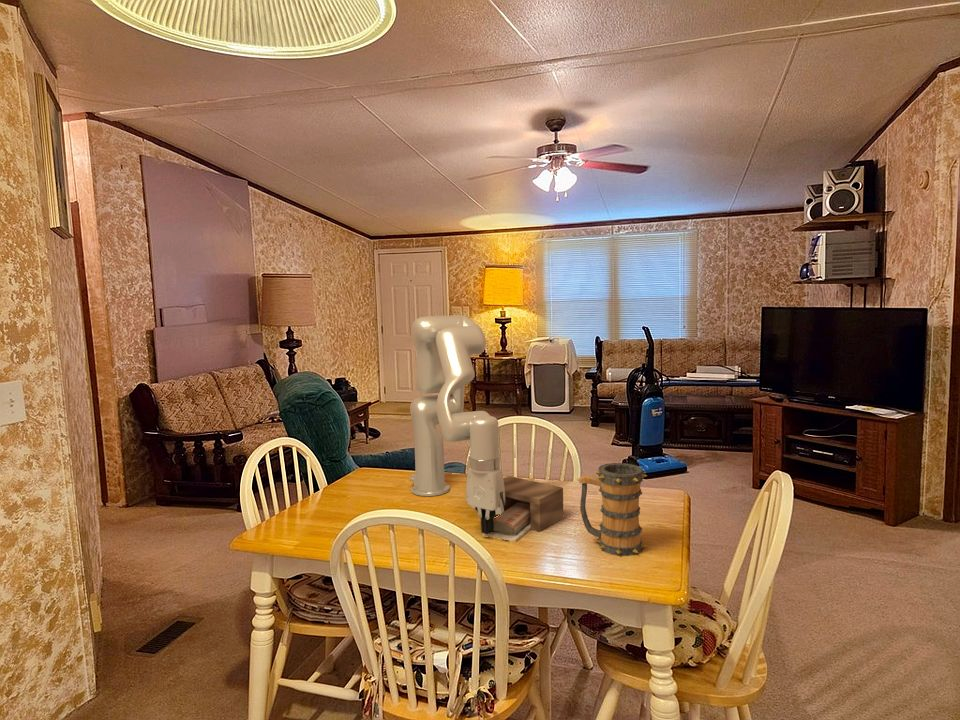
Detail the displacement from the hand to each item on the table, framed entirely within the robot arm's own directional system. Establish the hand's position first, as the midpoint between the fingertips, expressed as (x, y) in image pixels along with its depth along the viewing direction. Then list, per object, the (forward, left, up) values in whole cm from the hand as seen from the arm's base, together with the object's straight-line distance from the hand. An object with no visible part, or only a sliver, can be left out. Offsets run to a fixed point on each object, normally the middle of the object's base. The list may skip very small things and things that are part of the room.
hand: (487, 531), depth 154 cm
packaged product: (+1, +10, -2) cm, 10 cm away
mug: (+29, +14, -2) cm, 32 cm away
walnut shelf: (0, +17, -2) cm, 17 cm away
